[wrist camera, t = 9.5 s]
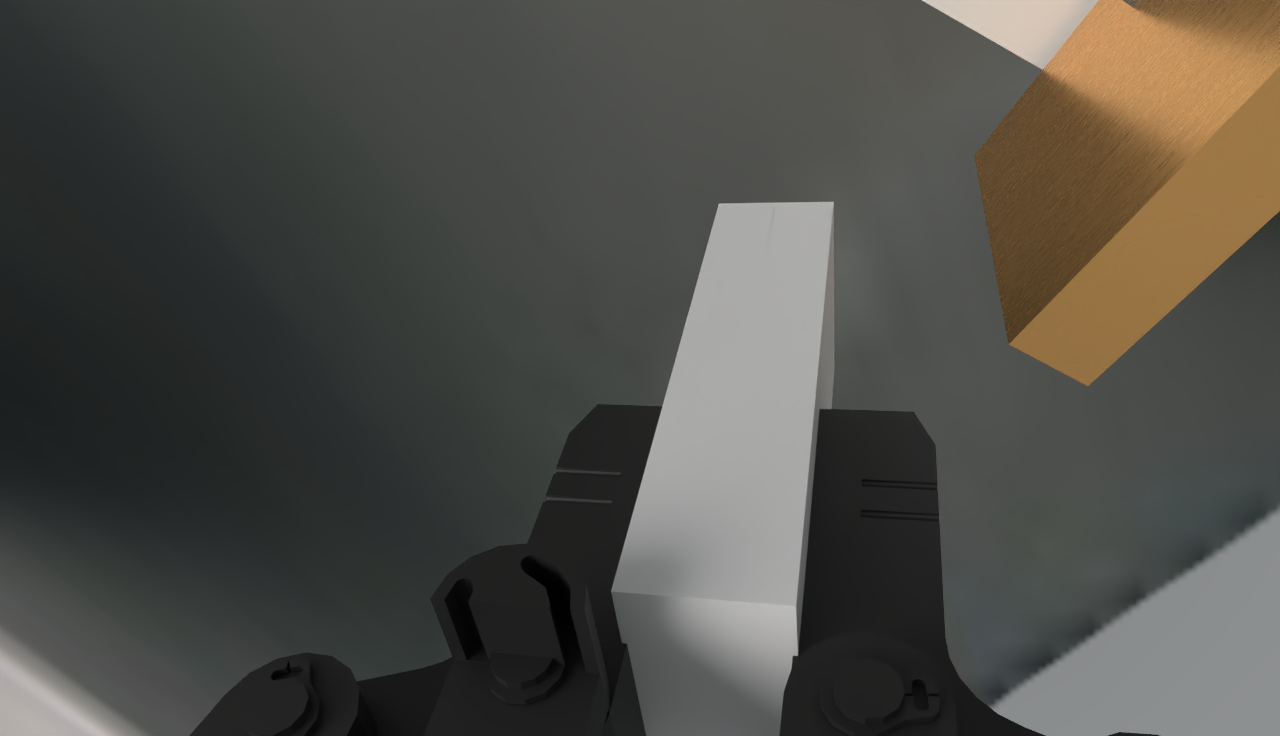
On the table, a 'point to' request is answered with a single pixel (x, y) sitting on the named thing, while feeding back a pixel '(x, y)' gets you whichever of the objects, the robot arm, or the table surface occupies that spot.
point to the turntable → (1131, 172)
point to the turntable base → (1021, 23)
